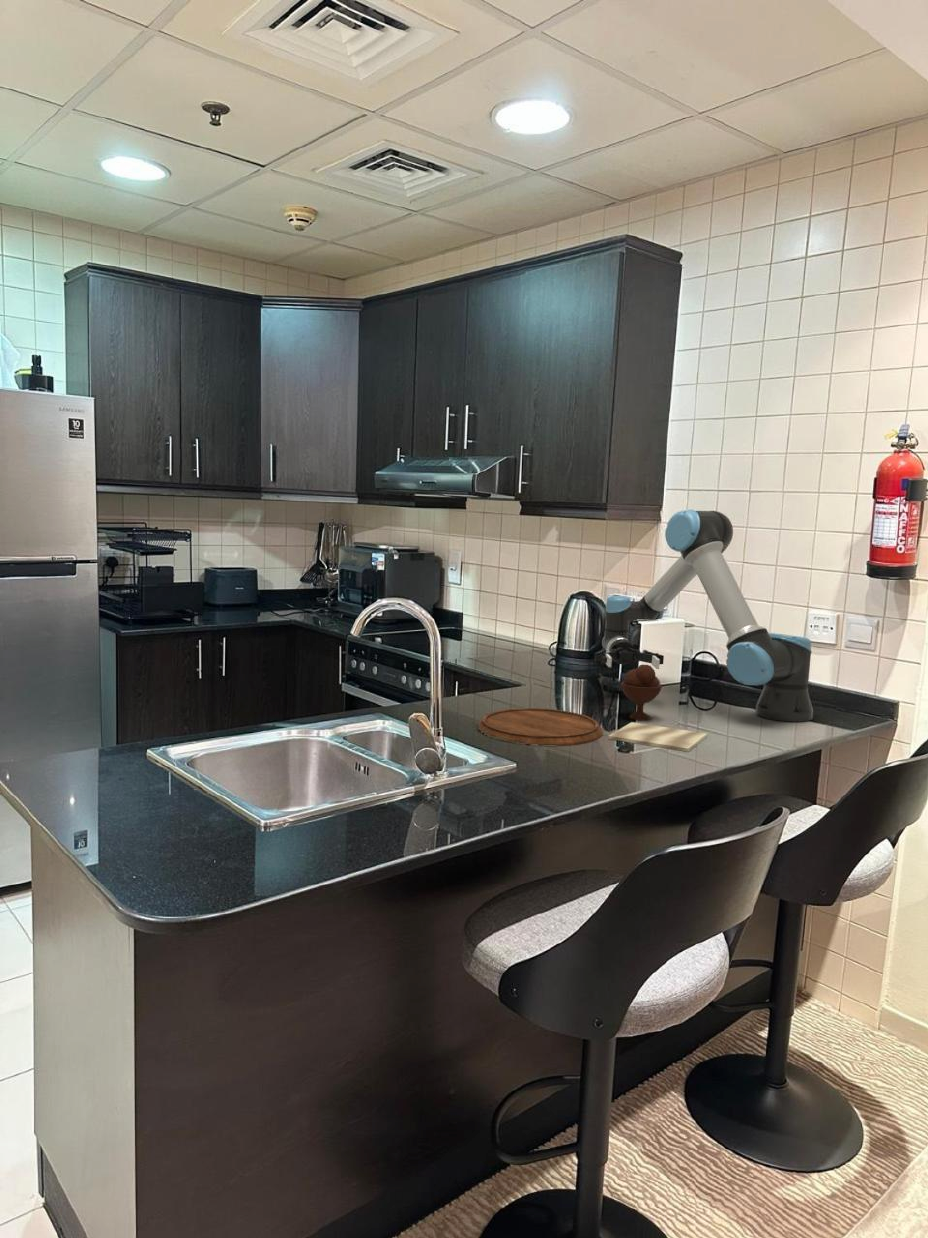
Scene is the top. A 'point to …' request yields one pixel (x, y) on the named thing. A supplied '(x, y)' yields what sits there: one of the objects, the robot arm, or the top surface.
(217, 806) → the top surface
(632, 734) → the birch pad
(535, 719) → the cutting board
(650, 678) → the chocolate ice cream sundae
